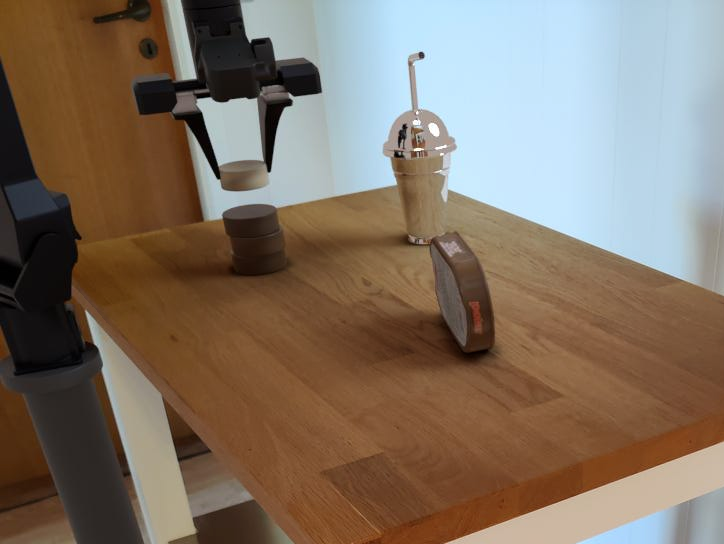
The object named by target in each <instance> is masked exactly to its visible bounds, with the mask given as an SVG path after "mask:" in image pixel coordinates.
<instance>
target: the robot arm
mask: <svg viewBox="0 0 724 544" xmlns="http://www.w3.org/2000/svg"><path fill="white" fill-rule="evenodd" d="M180 5H181V8H182V13H183V19H184V23H185V29H186V33H187V38H188V42H189V48H190V53H191V59H192V64H193V68H194V72H195V77H196V78H190V79H189V78H188V79H180V80H173V79H172V77H171V75H170V74H169V73H168V72H162V73H153V74H145V75H136V76H133V78H132V80H131V82H130V88H131V93H132V97H133V101H134V105H135V109H136V110H137V113H138V115H139V116H149V115H157V114H165V113H166V114H167V113H169V115H170V116H171V118H172V119H173V120H174V121H184V122H185V124H186V125H187V127H188V128H189V130H190V131H191V133H192V134H193V136H194V137H195V139H196V141H197V143H198V146H199V147H200V149H201V151H202V153H203V156H204V157H205V159H206V161H207V163H208V165H209V167H210V169H211V171H212V172H213V174H214V177H215V178H216V180H217V181H220V179H221V177H220V171H219V166H220V165H219V163H218V159H217V156H216V153H215V150H214V148H213V147H214V146H213V144H212V141H211V137H210V135H209V131H208V128H207V125H206V120H205V118H204V114H203V113H204V112H203V111H202V110H201V109H200V107H199V106H198V100H202V99H203V100H204V99H211V100H212V101H213V102H216V103H221V104H224V103H228V102H229V101H231V100H238V99H239V100H241V99H246V100H254V99H256V102H257V103H256V104H257V112H258V123H259V124H258V125H259V134H260V142H261V143H260V144H261V153H262V161H264V162H265V163H266V166H267V172H268V174H269V173H271V172H272V167H273V160H274V152H275V146H276V145H275V143H276V137H277V132H278V128H279V124H280V120H281V117H282V115H283V112H284V110H285V108H288V107H292V106H293V105H294V100H293V99H292V98H291V97H290V95H291V96H292V97H293V98H296V97H305V96H313V95H320V94H322V93H323V89H322V88H323V87H322V81H321V74H320V71H319V68H318V67H317V66H316V65H315V64H314V63H313V62H312V61H310V60H309V59H307V58H305V57H295V58H287V59H277V60H276V55H275V50H274V45H273V42H272V40H271V37H270V36H269V37H268V36H267V37H258V38H257V37H256V38H252V39H251V40H249V38H248V36H247V32H246V25H245V21H244V14H243V9H242V4H241V0H180ZM31 155H32V154H31V151H30V148H29V144H28V142H27V137H26V135H25V131H24V129H23V125H22V122H21V119H20V115H19V112H18V108H17V106H16V102H15V99H14V96H13V93H12V89H11V86H10V82H9V80H8V76H7V73H6V70H5V67H4V64H3V60H2V58H1V56H0V330H1V333H2V335H3V338H4V339H3V340H4V342H5V343H6V347H7V350H8V352H9V355H11V358H12V361H13V373H14V375H15V376H19V375H25V374H30V373H36V372H41V371H47V370H53V369H58V368H64V367H69V366H75V365H80V364H82V363H83V358H82V352H84V351H85V342H84V341H85V339H84V335H83V332H82V329H81V326H80V323H79V320H78V319H79V318H78V316H77V313H76V309H75V306H74V304H72V303H71V302H69V301H71V300H72V292H73V291H72V289H73V288H72V287H73V285H72V283H73V270H74V268H75V266H76V264H78V262H79V249H78V243H77V241H82V239H83V238H82V236H81V234H80V233H79V232H78V230H77V227H76V225H75V223H74V219H73V214H72V207H71V202H70V200H69V197H68V194H66V193H63V192H60V191H56V190H51V189H48V188H47V187H46V186H45V184H44V183H43V181H42V180H41V179H40V177H39V175H38V173H37V171H36V168H35V163H34V161H33V158H32V156H31ZM67 302H68V303H67Z"/></svg>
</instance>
